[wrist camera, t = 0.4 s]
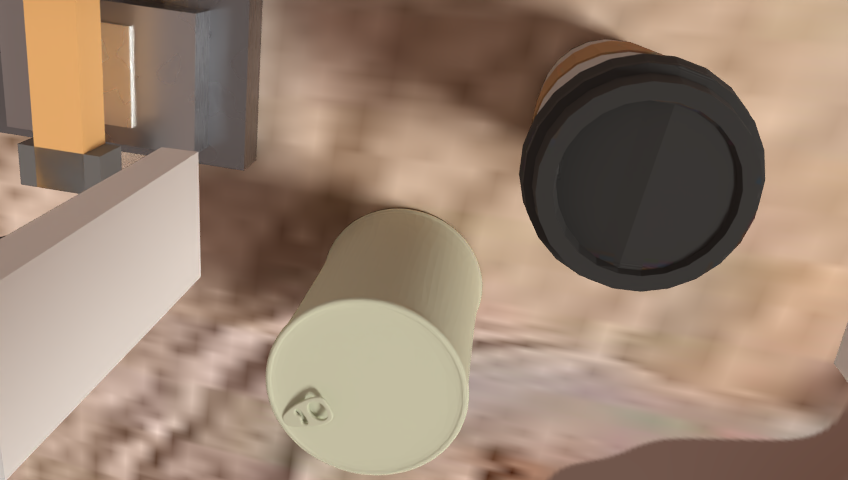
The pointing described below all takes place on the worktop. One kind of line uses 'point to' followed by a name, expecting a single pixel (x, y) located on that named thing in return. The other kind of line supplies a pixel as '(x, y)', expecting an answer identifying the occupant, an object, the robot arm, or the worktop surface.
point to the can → (380, 346)
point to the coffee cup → (639, 166)
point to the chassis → (160, 76)
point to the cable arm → (66, 98)
